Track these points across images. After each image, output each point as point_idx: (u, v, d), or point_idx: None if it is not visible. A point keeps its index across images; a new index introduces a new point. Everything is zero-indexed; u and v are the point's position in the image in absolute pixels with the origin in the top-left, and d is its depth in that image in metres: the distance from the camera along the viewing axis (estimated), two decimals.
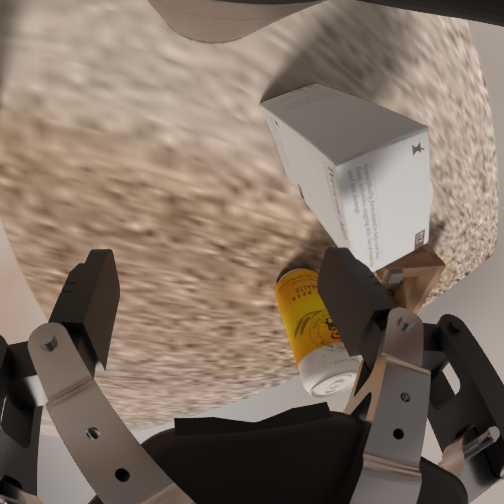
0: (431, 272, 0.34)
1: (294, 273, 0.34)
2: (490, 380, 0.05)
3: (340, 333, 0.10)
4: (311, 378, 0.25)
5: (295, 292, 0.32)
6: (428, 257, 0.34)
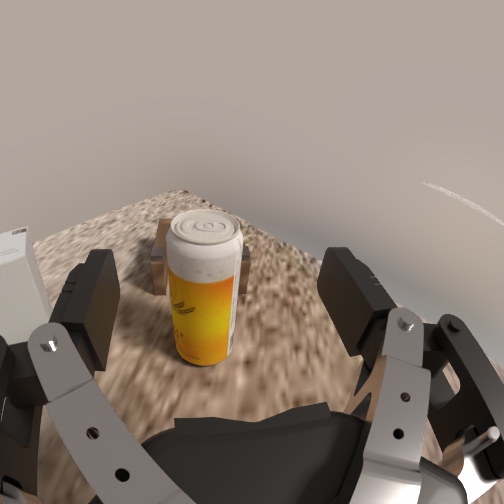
0: (165, 226, 0.41)
1: (177, 349, 0.28)
2: (490, 380, 0.05)
3: (340, 333, 0.10)
4: (190, 253, 0.20)
5: (179, 336, 0.26)
6: None
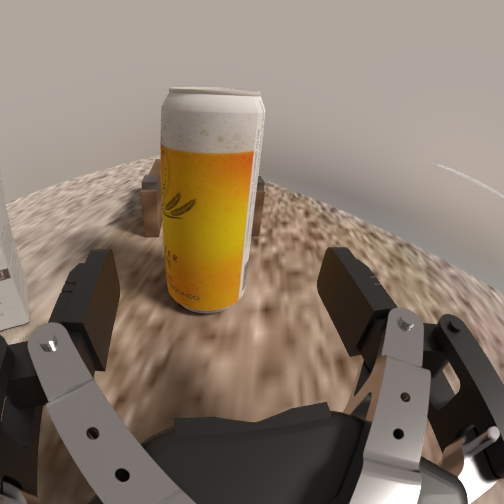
0: None
1: (169, 289, 0.21)
2: (490, 380, 0.05)
3: (340, 333, 0.10)
4: (194, 106, 0.13)
5: (171, 263, 0.19)
6: None
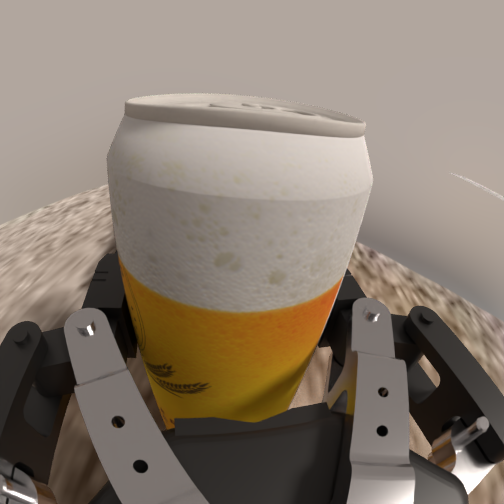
0: None
1: None
2: (471, 369, 0.06)
3: None
4: (192, 171, 0.04)
5: (167, 421, 0.10)
6: None
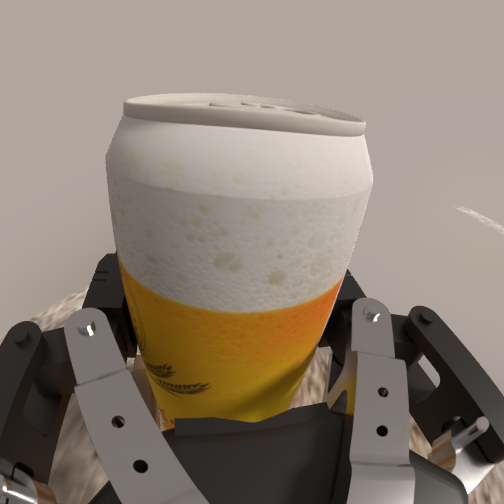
0: (146, 378, 0.21)
1: None
2: (471, 369, 0.06)
3: None
4: (191, 171, 0.04)
5: (168, 421, 0.10)
6: None
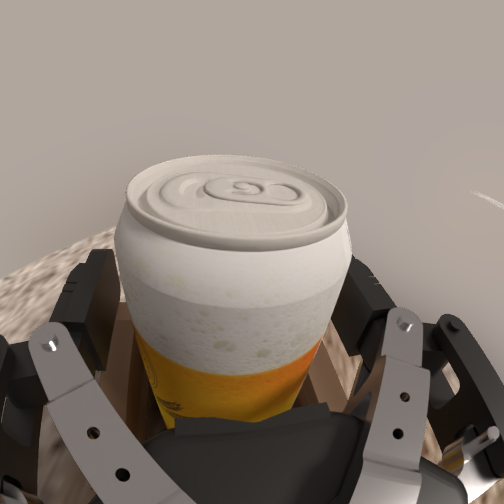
0: (127, 332, 0.15)
1: None
2: (490, 379, 0.05)
3: (339, 333, 0.10)
4: (192, 286, 0.05)
5: None
6: None
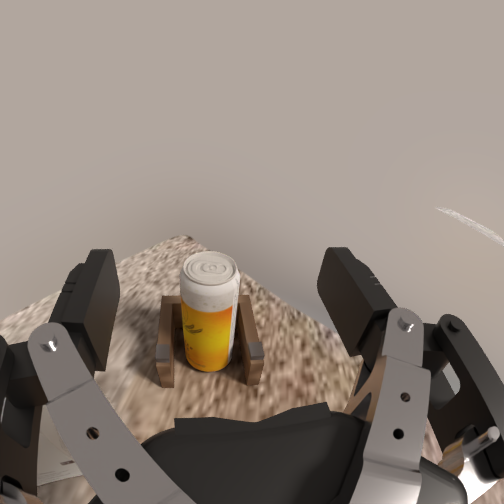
0: (169, 308, 0.36)
1: (187, 358, 0.34)
2: (490, 380, 0.05)
3: (340, 333, 0.10)
4: (199, 291, 0.26)
5: (189, 349, 0.32)
6: None
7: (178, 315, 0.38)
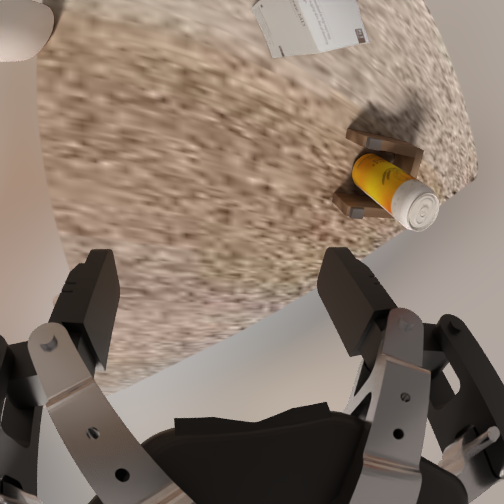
0: (411, 154, 0.36)
1: (367, 154, 0.40)
2: (490, 380, 0.05)
3: (340, 333, 0.10)
4: (407, 199, 0.30)
5: (373, 162, 0.37)
6: (406, 144, 0.37)
7: (405, 157, 0.39)
